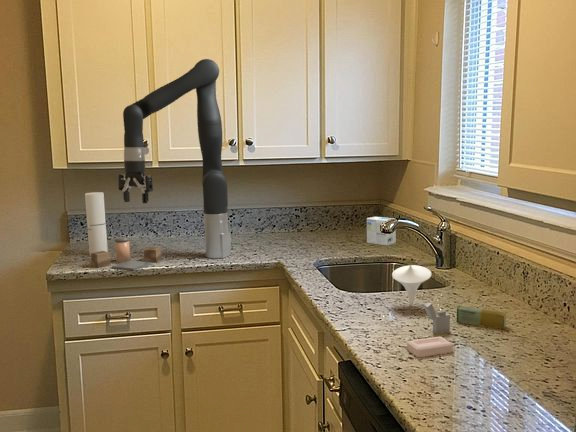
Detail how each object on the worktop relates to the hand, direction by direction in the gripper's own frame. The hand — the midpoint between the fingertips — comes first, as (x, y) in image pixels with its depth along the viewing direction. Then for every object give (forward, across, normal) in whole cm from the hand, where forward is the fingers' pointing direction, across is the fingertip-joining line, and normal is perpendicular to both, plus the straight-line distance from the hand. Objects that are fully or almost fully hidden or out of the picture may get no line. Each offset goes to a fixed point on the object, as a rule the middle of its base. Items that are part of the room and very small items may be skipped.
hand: (136, 202), depth 227 cm
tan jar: (+23, +7, 0) cm, 24 cm away
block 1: (+23, +10, +9) cm, 27 cm away
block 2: (+23, -4, -4) cm, 24 cm away
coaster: (+23, -2, +6) cm, 24 cm away
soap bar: (+22, -121, +46) cm, 132 cm away
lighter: (+21, -120, +34) cm, 127 cm away
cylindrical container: (+24, +25, -6) cm, 35 cm away
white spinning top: (+21, -109, +15) cm, 112 cm away
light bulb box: (+20, -76, -65) cm, 102 cm away
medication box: (+21, -129, +24) cm, 133 cm away
